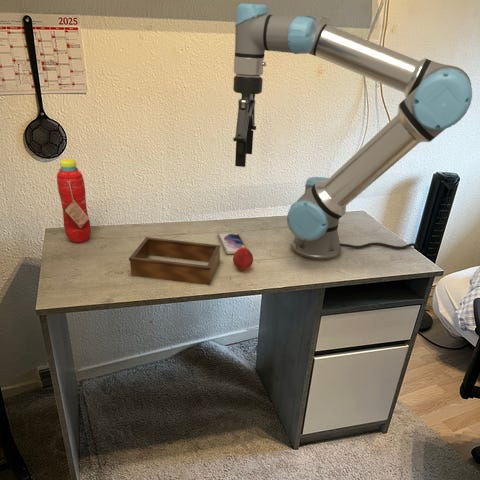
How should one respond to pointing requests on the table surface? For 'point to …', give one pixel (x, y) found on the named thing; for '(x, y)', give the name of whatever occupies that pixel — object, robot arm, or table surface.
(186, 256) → the wooden box frame
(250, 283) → the table surface
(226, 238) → the smartphone
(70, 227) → the water bottle
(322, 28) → the robot arm
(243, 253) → the pomegranate
